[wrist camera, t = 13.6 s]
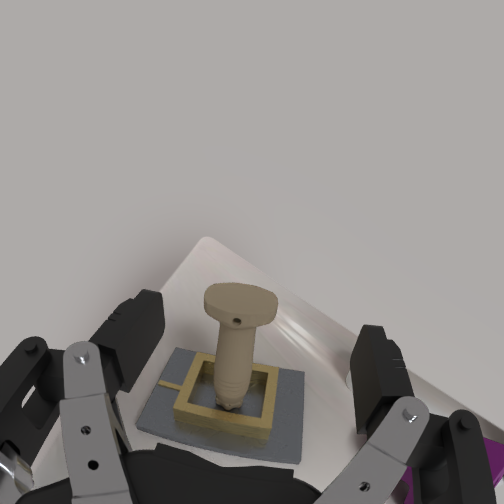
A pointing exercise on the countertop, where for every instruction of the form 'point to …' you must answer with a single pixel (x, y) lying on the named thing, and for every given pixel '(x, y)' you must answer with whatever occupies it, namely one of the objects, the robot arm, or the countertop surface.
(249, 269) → the countertop surface
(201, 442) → the plate
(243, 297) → the handle
